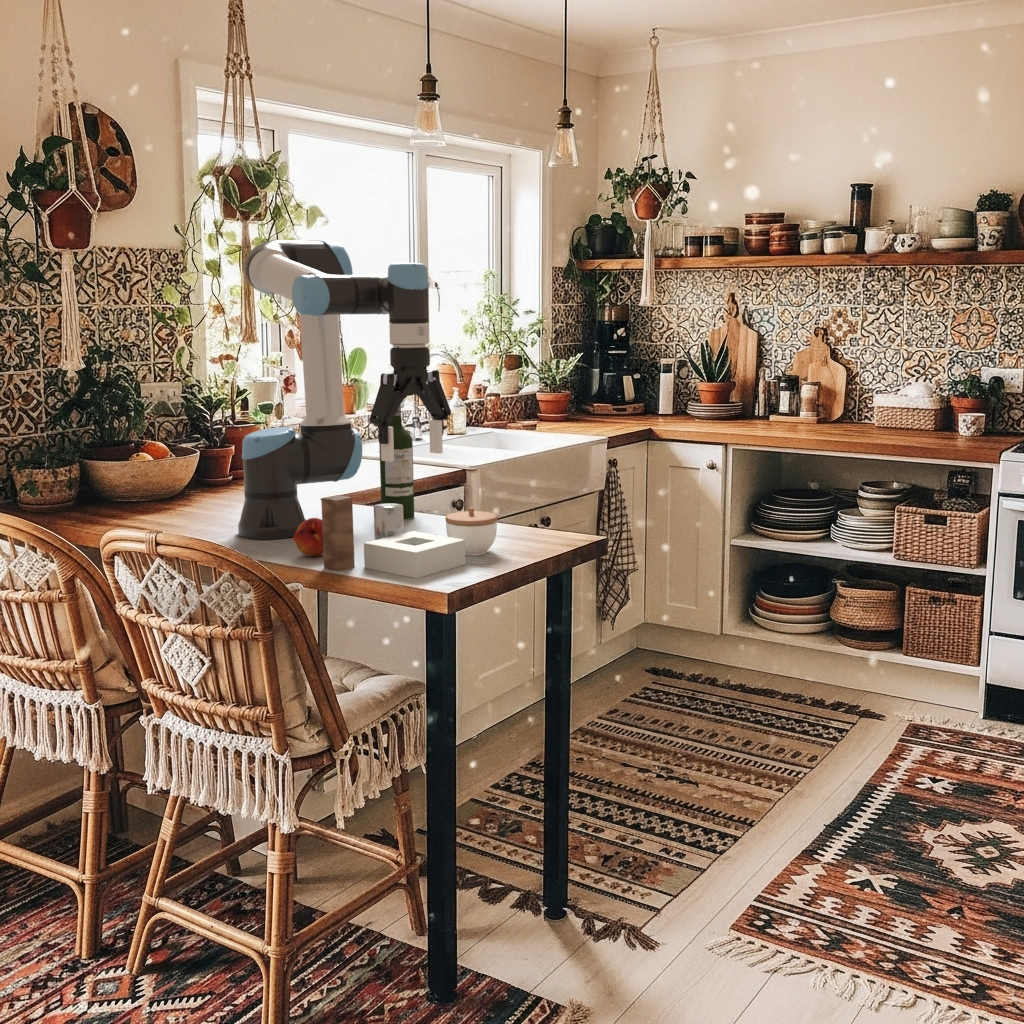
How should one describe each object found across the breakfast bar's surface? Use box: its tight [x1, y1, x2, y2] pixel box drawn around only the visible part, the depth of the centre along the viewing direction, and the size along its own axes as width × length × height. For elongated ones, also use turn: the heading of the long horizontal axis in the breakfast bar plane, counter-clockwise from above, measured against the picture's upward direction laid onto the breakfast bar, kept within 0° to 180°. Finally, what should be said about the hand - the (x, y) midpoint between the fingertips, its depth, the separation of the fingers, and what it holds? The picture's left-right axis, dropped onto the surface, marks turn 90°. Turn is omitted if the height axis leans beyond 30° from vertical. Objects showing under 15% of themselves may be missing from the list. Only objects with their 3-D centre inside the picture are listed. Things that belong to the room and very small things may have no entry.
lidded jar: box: [445, 507, 498, 557], centre depth 235 cm, size 11×11×9 cm
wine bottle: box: [378, 404, 415, 521], centre depth 270 cm, size 8×8×30 cm
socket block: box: [363, 530, 466, 579], centre depth 223 cm, size 14×14×5 cm
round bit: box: [373, 503, 405, 540], centre depth 234 cm, size 6×6×10 cm
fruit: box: [292, 517, 323, 557], centre depth 233 cm, size 8×8×8 cm
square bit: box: [320, 494, 356, 572], centre depth 222 cm, size 4×4×14 cm
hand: (412, 457), depth 220 cm, fingers open, 13 cm apart
